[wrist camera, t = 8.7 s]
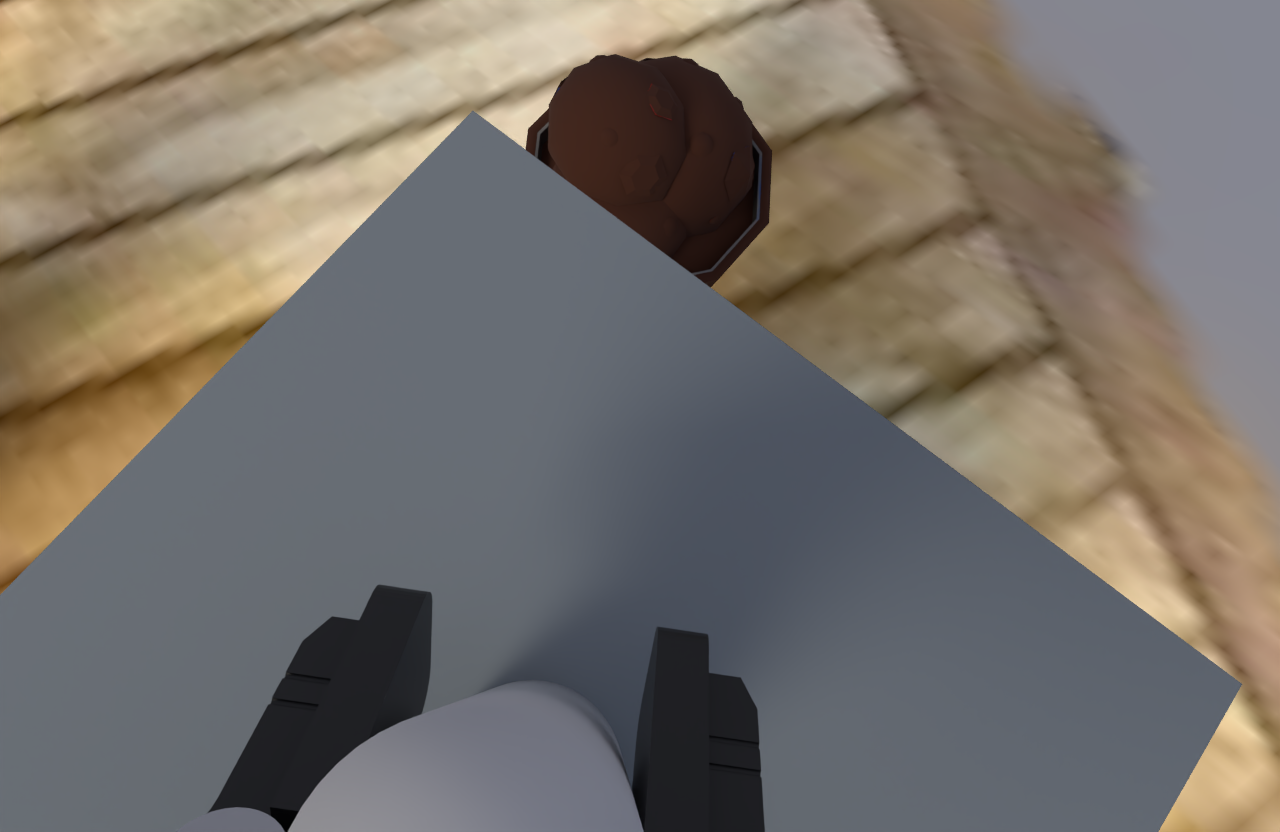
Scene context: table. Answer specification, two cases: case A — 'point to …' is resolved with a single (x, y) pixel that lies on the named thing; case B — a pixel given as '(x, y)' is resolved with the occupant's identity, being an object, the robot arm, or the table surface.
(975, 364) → the table surface
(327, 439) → the cover
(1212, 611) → the table surface
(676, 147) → the ice cream bowl
